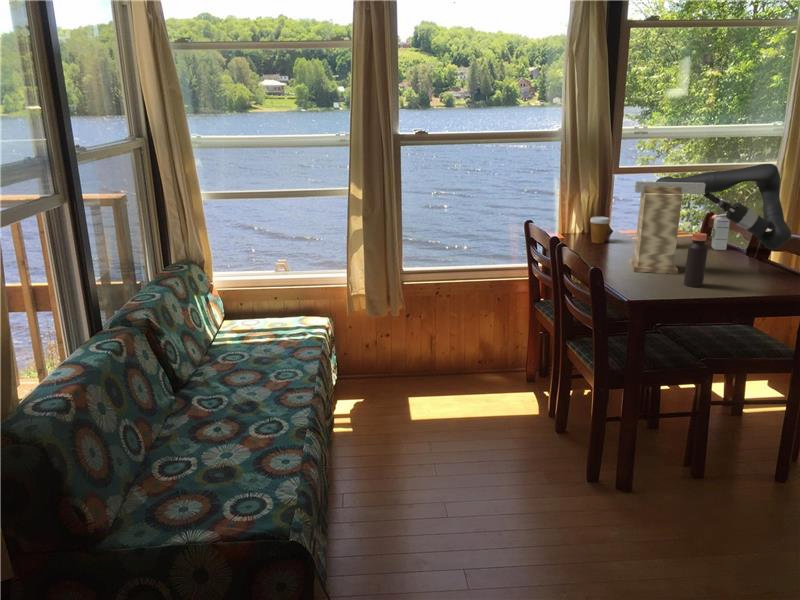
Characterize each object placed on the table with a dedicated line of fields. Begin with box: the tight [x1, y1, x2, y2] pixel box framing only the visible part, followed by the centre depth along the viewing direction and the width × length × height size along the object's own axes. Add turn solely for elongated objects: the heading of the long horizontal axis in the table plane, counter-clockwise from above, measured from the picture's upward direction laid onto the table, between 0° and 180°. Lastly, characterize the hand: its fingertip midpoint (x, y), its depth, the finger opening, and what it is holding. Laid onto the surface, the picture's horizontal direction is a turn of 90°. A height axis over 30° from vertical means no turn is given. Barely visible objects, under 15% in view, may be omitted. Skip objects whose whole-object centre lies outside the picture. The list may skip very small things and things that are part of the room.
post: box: [628, 187, 683, 275], centre depth 273 cm, size 17×15×34 cm
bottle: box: [683, 232, 708, 288], centre depth 251 cm, size 7×7×20 cm
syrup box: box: [710, 216, 731, 251], centre depth 310 cm, size 6×6×14 cm
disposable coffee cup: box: [589, 216, 611, 244], centre depth 326 cm, size 10×10×12 cm
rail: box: [634, 180, 706, 195], centre depth 268 cm, size 26×4×4 cm, turn 78°
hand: (707, 194), depth 266 cm, fingers open, 8 cm apart
